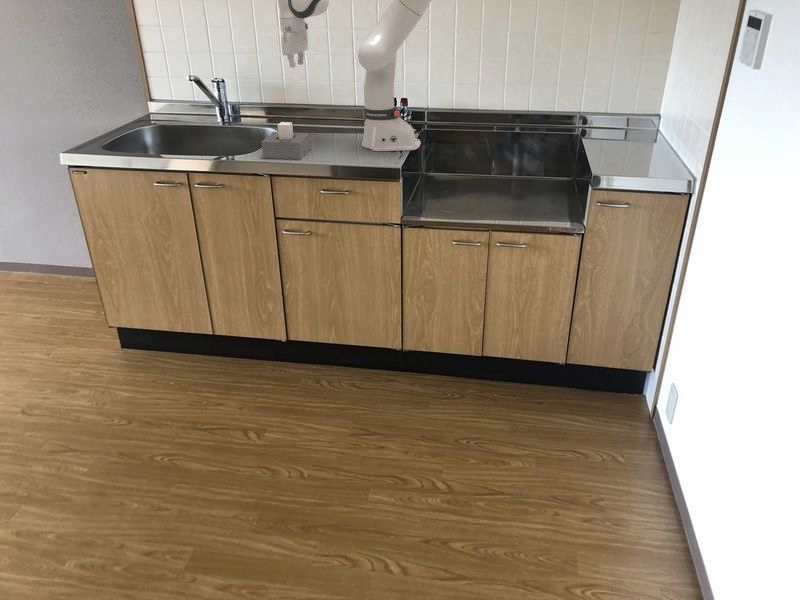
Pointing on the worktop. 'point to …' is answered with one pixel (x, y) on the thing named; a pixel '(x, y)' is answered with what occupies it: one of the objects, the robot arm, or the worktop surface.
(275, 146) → the grey socket block
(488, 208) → the worktop surface
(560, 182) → the worktop surface
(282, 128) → the plug
